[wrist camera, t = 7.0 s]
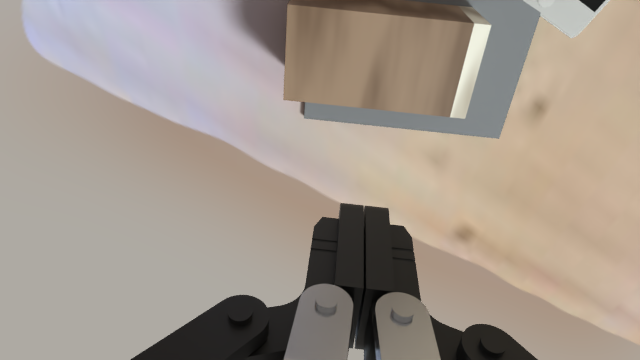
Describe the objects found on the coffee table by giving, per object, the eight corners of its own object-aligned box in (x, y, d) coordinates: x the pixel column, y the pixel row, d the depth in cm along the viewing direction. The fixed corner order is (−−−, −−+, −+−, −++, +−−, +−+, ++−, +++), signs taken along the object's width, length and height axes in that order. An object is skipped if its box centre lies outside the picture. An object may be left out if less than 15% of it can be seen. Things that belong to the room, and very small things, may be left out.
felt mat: (557, -45, 29) (559, -44, 28) (497, 136, 36) (498, 138, 35) (317, -68, 29) (316, -68, 29) (304, 116, 36) (304, 118, 36)
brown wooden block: (296, -11, 31) (472, 7, 30) (292, 74, 34) (451, 90, 34) (287, 4, 26) (491, 25, 26) (283, 99, 30) (465, 118, 29)
